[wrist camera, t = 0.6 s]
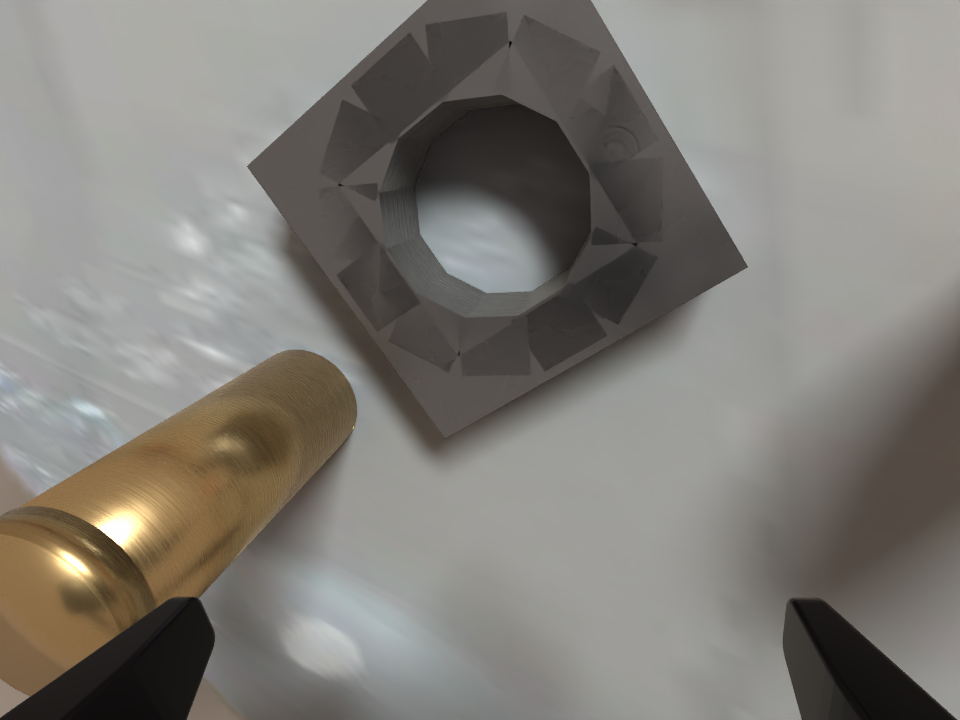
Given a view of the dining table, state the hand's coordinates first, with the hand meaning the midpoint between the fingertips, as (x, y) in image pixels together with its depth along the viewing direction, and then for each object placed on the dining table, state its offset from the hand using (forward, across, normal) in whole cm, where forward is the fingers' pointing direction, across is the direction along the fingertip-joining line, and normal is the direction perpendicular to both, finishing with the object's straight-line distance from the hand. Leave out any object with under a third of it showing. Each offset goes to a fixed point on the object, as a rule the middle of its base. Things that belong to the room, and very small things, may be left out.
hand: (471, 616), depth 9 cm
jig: (+15, 0, -3) cm, 15 cm away
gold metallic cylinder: (+15, +10, +4) cm, 18 cm away
